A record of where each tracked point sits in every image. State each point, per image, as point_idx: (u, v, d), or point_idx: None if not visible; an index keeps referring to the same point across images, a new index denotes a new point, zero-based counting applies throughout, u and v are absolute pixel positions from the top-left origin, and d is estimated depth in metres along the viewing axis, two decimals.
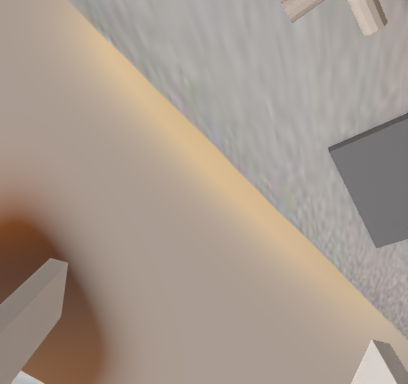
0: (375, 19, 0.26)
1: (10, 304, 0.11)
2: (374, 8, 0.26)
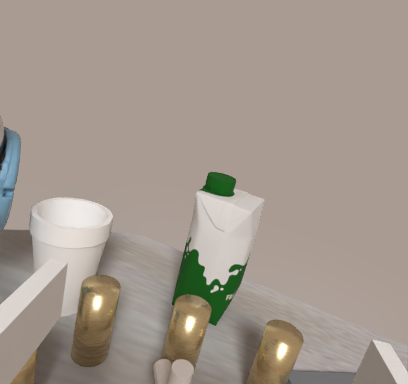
0: None
1: (10, 304, 0.11)
2: None
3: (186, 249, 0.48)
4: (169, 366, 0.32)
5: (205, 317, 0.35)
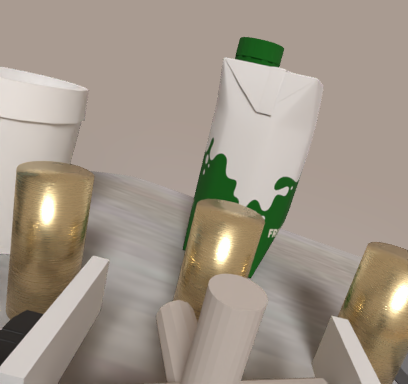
0: None
1: (66, 297, 0.12)
2: (289, 381, 0.13)
3: (205, 160, 0.31)
4: (191, 314, 0.15)
5: (257, 228, 0.18)
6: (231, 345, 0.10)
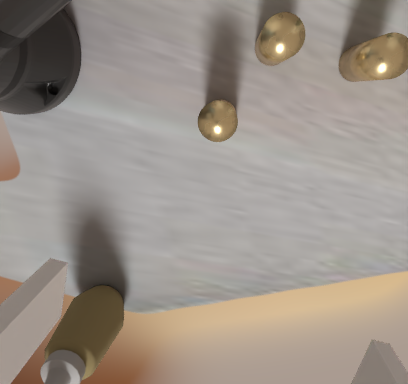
0: None
1: (10, 304, 0.11)
2: None
3: None
4: None
5: (399, 75, 0.32)
6: None
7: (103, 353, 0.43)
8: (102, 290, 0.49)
